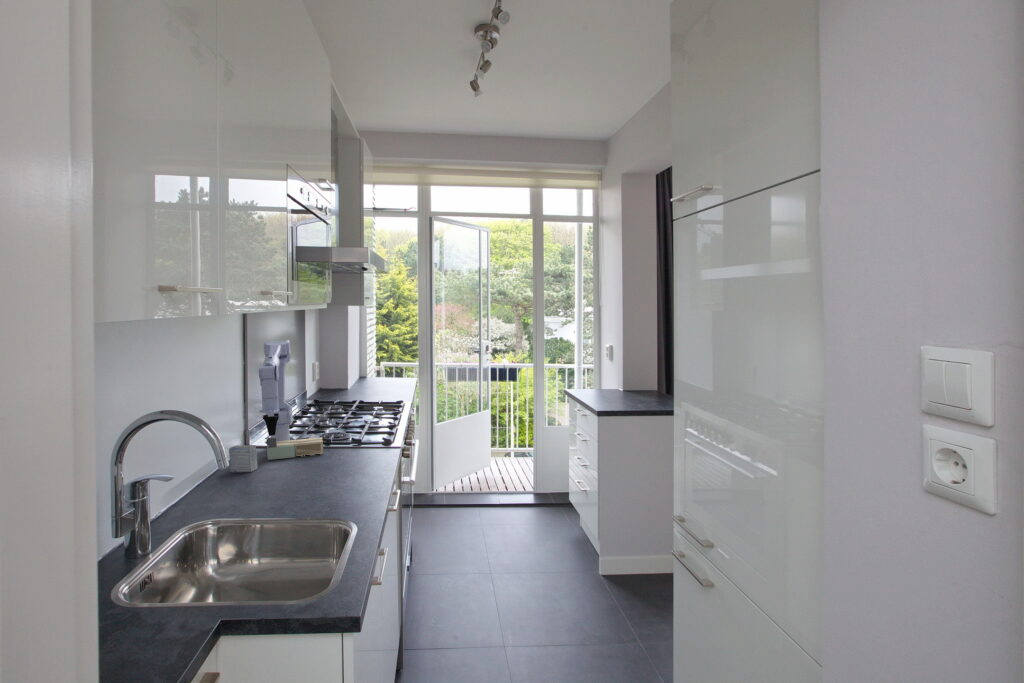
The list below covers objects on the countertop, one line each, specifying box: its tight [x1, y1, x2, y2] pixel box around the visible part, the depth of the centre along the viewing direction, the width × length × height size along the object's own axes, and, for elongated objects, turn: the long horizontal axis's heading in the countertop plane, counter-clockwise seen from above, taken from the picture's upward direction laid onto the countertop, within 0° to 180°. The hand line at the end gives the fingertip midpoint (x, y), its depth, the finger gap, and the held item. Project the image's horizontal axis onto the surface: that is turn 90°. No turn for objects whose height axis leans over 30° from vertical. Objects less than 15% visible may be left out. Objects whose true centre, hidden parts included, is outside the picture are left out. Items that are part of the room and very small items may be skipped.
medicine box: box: [228, 444, 259, 473], centre depth 217 cm, size 8×4×9 cm, turn 84°
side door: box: [266, 437, 297, 461], centre depth 233 cm, size 1×10×8 cm, turn 108°
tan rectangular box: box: [266, 437, 324, 458], centre depth 239 cm, size 8×20×5 cm, turn 108°
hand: (271, 434), depth 231 cm, fingers open, 7 cm apart
